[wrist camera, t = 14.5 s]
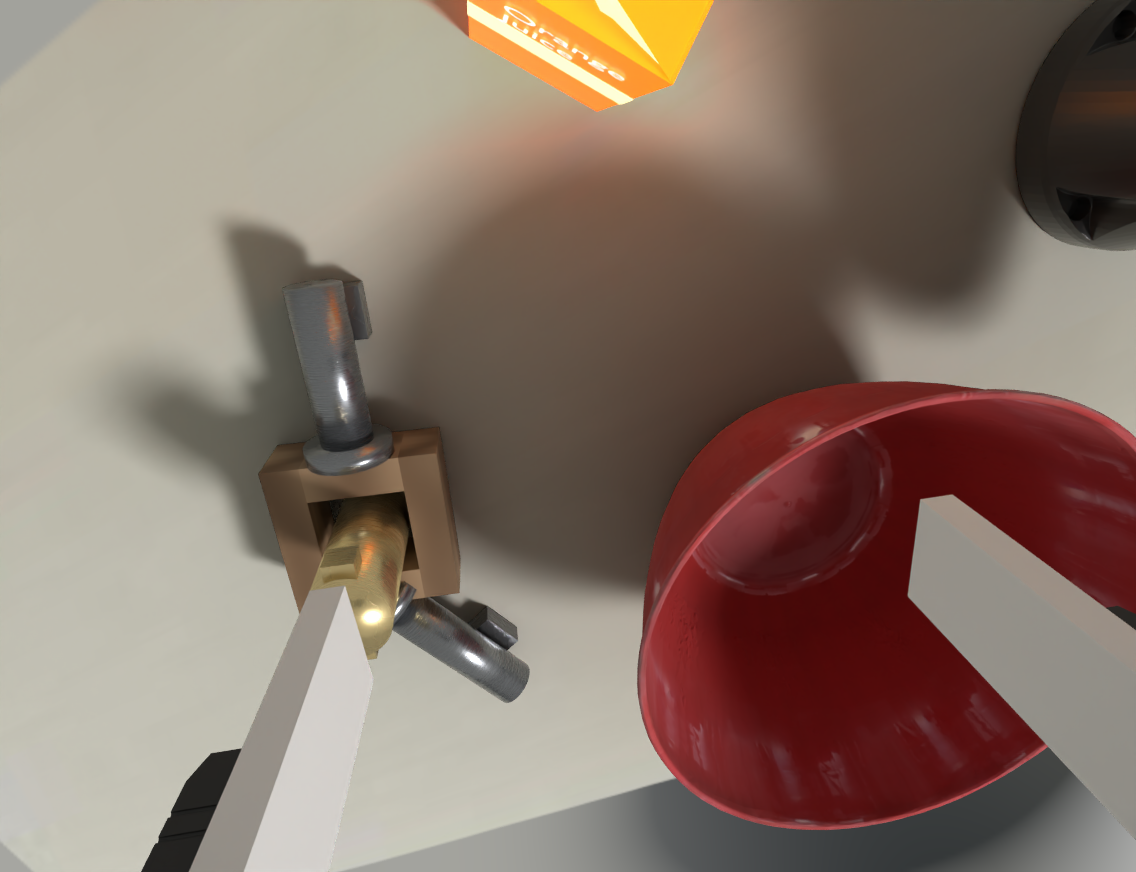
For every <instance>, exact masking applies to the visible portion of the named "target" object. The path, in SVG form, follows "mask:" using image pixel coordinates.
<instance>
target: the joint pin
mask: <svg viewBox="0 0 1136 872" xmlns="http://www.w3.org/2000/svg"><path fill="white" fill-rule="evenodd" d="M409 528H410V518H409V513H408V508H407V502H406V497H405V492H404V491H401V492H393V493H385V494H377V495H368V496H360V497H352V498H344V500H343V503H342V506H341V509H340V511H339V514H338V517H337V519H336V522H335V525H334V527H333V530H332V533H331V535H330V538H329V541H328V543H327V546H326V549H325V551H324V554H323V557H322V560H321V562H320V565H319V568H318V570H317V573H316V576H315V578H314V581H313V584H312V586H311V589H310V591H312V590H318V589H325V588H332V587H338V586H345V587H346V591H347V594H348V597H349V600H350V604H351V607H352V610H353V614H354V617H355V620H356V623H357V627H358V630H359V633H360V637H361V640H362V643H363V646H364V650H365V653H366V656H367V660H370V659H376V658H377V655H378V650H379V649H380V648H381V647H382V646H383V645H384V644H385V643H386V642H387V641H388V639H389V637H390V635H391V632H392V628H393V622H394V616H395V611H396V605H397V599H398V593H399V587H400V581H401V575H402V569H403V563H404V557H405V551H406V546H407V540H408V534H409Z"/></svg>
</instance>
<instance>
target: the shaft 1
mask: <svg viewBox="0 0 1136 872" xmlns="http://www.w3.org/2000/svg"><path fill="white" fill-rule="evenodd" d="M282 291H283V295H284V299H285V303H286V307H287V311H288V315H289V319H290V323H291V327H292V331H293V336H294V340H295V344H296V348H297V352H298V356H299V360H300V364H301V368H302V372H303V376H304V380H305V384H306V388H307V392H308V396H309V400H310V404H311V409H312V413H313V417H314V421H315V425H316V429H317V433H318V435H316V436H314V437H313V438H311V439H310V440H309V441H307V442H306V443H305V445H304V446H303V454H304V458H305V462H306V466H307V469H308V470H309V471H310V472H312V473H314V474H317V475H323V476H342V475H350V474H355V473H359V472H363V471H366V470H369V469H371V468H374V467H376V466H378V465H380V464H382V463H384V462H385V461H387V460H388V459H389V458H390V457H391V456H392V455H393V453H394V451H395V448H394V443H393V438H392V433H391V431H390V429H389V428H387V427H385V426H382V425H377V424H372V423H371V418H370V413H369V408H368V404H367V399H366V394H365V389H364V384H363V379H362V375H361V370H360V365H359V360H358V355H357V351H356V346H355V341H354V340H360V339H368V338H369V337H370V335H371V333H372V329H371V324H370V319H369V314H368V309H367V304H366V298H365V293H364V288H363V283H362V281H357V282H346V283H342V281H341V280H335V279H327V280H314V281H307V282H301V283H296V284H292V285H288V286H285V287H283V288H282Z"/></svg>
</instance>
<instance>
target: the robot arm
mask: <svg viewBox="0 0 1136 872" xmlns="http://www.w3.org/2000/svg"><path fill="white" fill-rule="evenodd" d="M1016 168H1017V177H1018V183H1019V188H1020V191H1021V195H1022V198H1023V200H1024V203H1025V205H1026V207H1027V209H1028V211H1029V213H1030V214H1031V216H1032V217H1033V219H1034V220H1035V221H1036V222H1037V224H1038V225H1039V226H1040V227H1041V228H1042V229H1043V230H1044V231H1046V232H1047V233H1048V234H1050V235H1051V236H1053V237H1054V238H1056V239H1058V240H1060V241H1062V242H1065V243H1068V244H1071V245H1075V246H1081V247H1088V248H1094V249H1101V250H1109V251H1127V250H1136V0H1097V1H1096V2H1095V3H1093V4H1092V5H1091V6H1090V7H1089V8H1088V9H1087V10H1086V11H1084V12H1083V13H1082V14H1081V15H1080V16H1079V17H1078V18H1077V19H1076V20H1075V22H1074V23H1073V24H1072V25H1071V26H1070V27H1069V28H1068V29H1067V31H1066V32H1065V33H1064V34H1063V36H1062V37H1061V38H1060V39H1059V41H1058V42H1057V43H1056V45H1055V46H1054V48H1053V49H1052V51H1051V52H1050V54H1049V55H1048V57H1047V59H1046V60H1045V62H1044V64H1043V65H1042V67H1041V69H1040V71H1039V73H1038V75H1037V77H1036V79H1035V81H1034V83H1033V86H1032V88H1031V90H1030V93H1029V95H1028V98H1027V101H1026V104H1025V107H1024V110H1023V114H1022V117H1021V122H1020V126H1019V132H1018V138H1017V148H1016ZM908 597H909V598H910V599H911V600H912V601H913V603H914V604H915V605H916V606H917V607H918V608H919V609H920V610H921V611H922V612H923V613H924V614H925V615H926V616H927V617H928V619H929V620H930V621H931V622H932V623H933V624H934V625H935V626H936V627H937V628H938V629H939V630H940V631H941V632H942V634H943V635H944V636H945V637H946V638H947V639H948V640H949V641H950V642H951V643H952V644H953V645H954V646H955V647H956V648H957V650H958V651H959V652H960V653H961V654H962V655H963V656H964V657H965V658H966V659H967V660H968V661H969V662H970V663H971V665H972V666H973V667H974V668H975V669H976V670H977V671H978V672H979V673H980V674H981V675H982V676H983V677H984V678H985V679H986V681H987V682H988V683H989V684H990V685H991V686H992V687H993V688H994V689H995V690H996V691H997V692H998V693H999V694H1000V695H1001V697H1002V698H1003V699H1004V700H1005V701H1006V702H1007V703H1008V704H1009V705H1010V706H1011V707H1012V708H1013V709H1014V710H1015V712H1016V713H1017V714H1018V715H1019V716H1020V717H1021V718H1022V719H1023V720H1024V721H1025V722H1026V723H1027V724H1028V725H1029V726H1030V728H1031V729H1032V730H1033V731H1034V732H1035V733H1036V734H1037V735H1038V736H1039V737H1040V738H1041V739H1042V740H1043V741H1044V742H1045V744H1046V745H1047V746H1048V747H1049V748H1050V749H1051V750H1052V751H1053V752H1054V753H1055V754H1056V755H1057V756H1058V757H1059V759H1060V760H1061V761H1062V762H1063V763H1064V764H1065V765H1066V766H1067V767H1068V768H1069V769H1070V770H1071V771H1072V772H1073V773H1074V774H1075V776H1076V777H1077V778H1078V779H1079V780H1080V781H1081V782H1082V783H1083V784H1084V785H1085V786H1086V787H1087V788H1088V789H1089V790H1090V792H1091V793H1092V794H1093V795H1094V796H1095V797H1096V798H1097V799H1098V800H1099V801H1100V802H1101V803H1102V804H1103V805H1104V807H1105V808H1106V809H1107V810H1108V811H1109V812H1110V813H1111V814H1112V815H1113V816H1114V817H1115V818H1116V819H1117V820H1118V821H1119V823H1121V825H1122V826H1123V827H1124V828H1125V829H1126V830H1127V831H1128V832H1129V833H1130V834H1131V835H1132V837H1134V839H1135V840H1136V614H1135V613H1133V612H1131V611H1128V610H1126V609H1124V608H1122V607H1120V606H1113V607H1107V608H1105V607H1104V606H1102V605H1101V604H1100V603H1098V602H1097V601H1096V600H1094V599H1093V598H1092V597H1090V596H1089V595H1087V594H1086V593H1085V592H1083V591H1082V590H1081V589H1079V588H1078V587H1077V586H1075V585H1074V584H1073V583H1071V582H1070V581H1069V580H1067V579H1066V578H1065V577H1063V576H1062V575H1060V574H1059V573H1058V572H1056V571H1055V570H1054V569H1052V568H1051V567H1050V566H1048V565H1047V564H1046V563H1044V562H1043V561H1042V560H1040V559H1039V558H1037V557H1036V556H1035V555H1033V554H1032V553H1031V552H1029V551H1028V550H1027V549H1025V548H1024V547H1023V546H1021V545H1020V544H1019V543H1017V542H1016V541H1015V540H1013V539H1012V538H1010V537H1009V536H1008V535H1006V534H1005V533H1004V532H1002V531H1001V530H1000V529H998V528H997V527H996V526H994V525H993V524H992V523H990V522H989V521H988V520H986V519H985V518H983V517H982V516H981V515H979V514H978V513H977V512H975V511H974V510H973V509H971V508H970V507H969V506H967V505H966V504H965V503H963V502H962V501H960V500H959V499H958V498H956V497H955V496H954V495H946V496H939V497H932V498H926V499H920V506H919V514H918V521H917V529H916V536H915V544H914V551H913V559H912V567H911V574H910V582H909V589H908ZM373 682H374V679H373V676H372V673H371V669H370V666H369V663H368V660H367V656H366V653H365V650H364V646H363V643H362V640H361V637H360V633H359V630H358V627H357V623H356V620H355V617H354V614H353V610H352V607H351V604H350V600H349V597H348V594H347V591H346V587H345V586H338V587H332V588H325V589H318V590H312V591H309V594H308V596H307V598H306V601H305V603H304V605H303V608H302V610H301V612H300V615H299V617H298V619H297V622H296V624H295V626H294V628H293V631H292V633H291V635H290V638H289V640H288V642H287V645H286V647H285V649H284V652H283V654H282V656H281V659H280V661H279V663H278V666H277V668H276V670H275V673H274V675H273V677H272V680H271V682H270V684H269V687H268V689H267V691H266V694H265V696H264V698H263V701H262V703H261V705H260V708H259V710H258V712H257V715H256V717H255V719H254V722H253V724H252V726H251V729H250V731H249V733H248V735H247V738H246V740H245V742H244V745H243V747H242V749H235V750H229V751H223V752H217V753H211V754H210V755H209V756H208V757H207V758H206V760H205V761H204V762H203V763H202V764H201V765H200V766H199V767H198V769H197V770H196V771H195V772H194V773H193V774H192V775H191V776H190V778H189V779H188V780H187V781H186V783H185V785H184V787H183V789H182V791H181V793H180V795H179V797H178V799H177V801H176V803H175V805H174V807H173V809H172V811H171V817H170V818H168V819H167V821H166V823H165V825H164V827H163V829H162V831H161V833H160V835H159V841H158V843H156V844H155V845H154V847H153V849H152V851H151V853H150V855H149V857H148V859H147V861H146V863H145V865H144V867H143V869H142V871H141V872H329V870H330V865H331V861H332V857H333V853H334V848H335V844H336V840H337V835H338V831H339V827H340V823H341V818H342V814H343V810H344V805H345V801H346V797H347V793H348V788H349V784H350V780H351V776H352V771H353V767H354V763H355V758H356V754H357V750H358V746H359V741H360V737H361V733H362V729H363V724H364V720H365V716H366V711H367V707H368V703H369V699H370V694H371V690H372V686H373Z"/></svg>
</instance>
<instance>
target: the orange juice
mask: <svg viewBox="0 0 1136 872" xmlns="http://www.w3.org/2000/svg"><path fill="white" fill-rule="evenodd" d="M713 1H714V0H468V1H467V15H469V38H471V39H472V40H474V41H476V42H478V43H479V44H481V45H483V46H485V47H486V48H488V49H490V50H491V51H493V52H495V53H497V54H498V55H500V56H502V57H504V58H505V59H507V60H509V61H510V62H512V63H514V64H516V65H517V66H519V67H521V68H523V69H524V70H526V71H528V72H529V73H531V74H533V75H535V76H536V77H538V78H540V79H542V80H543V81H545V82H547V83H548V84H550V85H552V86H554V87H555V88H557V89H559V90H561V91H562V92H564V93H566V94H567V95H569V96H571V97H573V98H574V99H576V100H578V101H580V102H581V103H583V104H585V105H586V106H588V107H590V108H592V109H593V110H595V111H600V110H603V109H606V108H608V107H611V106H614V105H617V104H620V105H621V104H624V103H627V102H629V101H632V100H633V99H634V98H637V97H639V96H642V95H645V94H648V93H651V92H653V91H656V90H659V89H662V88H665V87H668V86H670V85H673V83H674V81H675V79H676V77H677V75H678V73H679V71H680V69H681V67H682V65H683V63H684V61H685V59H686V57H687V55H688V52H689V50H690V48H691V46H692V44H693V42H694V40H695V38H696V36H697V34H698V32H699V30H700V28H701V26H702V24H703V22H704V20H705V17H706V15H707V13H708V11H709V9H710V7H711V5H712V3H713Z"/></svg>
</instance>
